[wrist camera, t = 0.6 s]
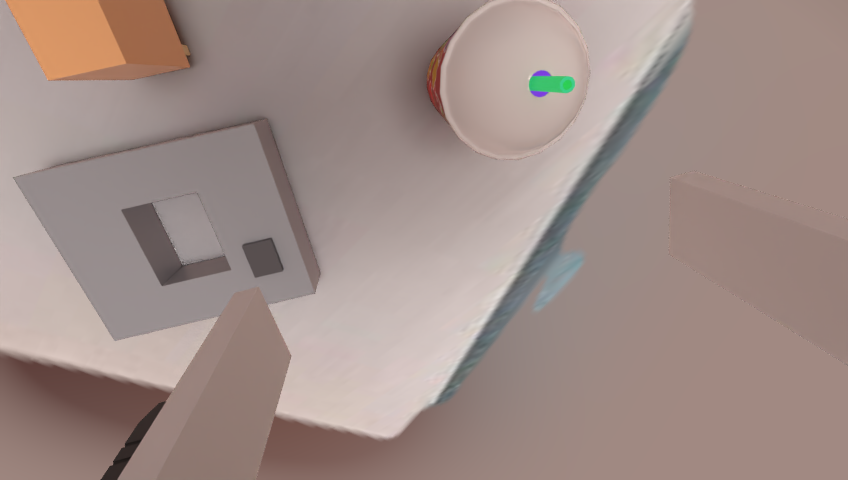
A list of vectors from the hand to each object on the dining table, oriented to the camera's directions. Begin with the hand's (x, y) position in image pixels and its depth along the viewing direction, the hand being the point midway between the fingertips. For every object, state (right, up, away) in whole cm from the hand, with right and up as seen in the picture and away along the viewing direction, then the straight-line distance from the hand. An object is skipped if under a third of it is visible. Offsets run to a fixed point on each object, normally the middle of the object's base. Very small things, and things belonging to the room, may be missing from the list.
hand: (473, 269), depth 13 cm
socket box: (-22, +2, +24) cm, 32 cm away
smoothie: (+2, +15, +22) cm, 26 cm away
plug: (-22, +17, +18) cm, 33 cm away
